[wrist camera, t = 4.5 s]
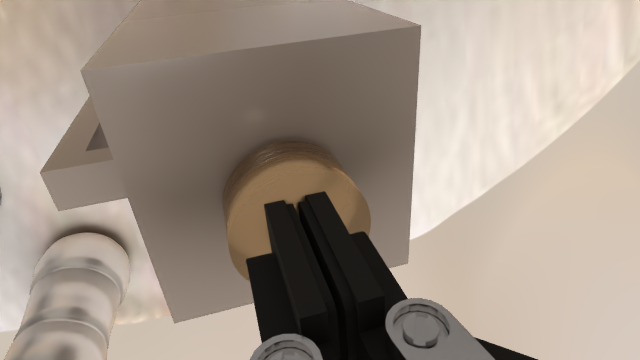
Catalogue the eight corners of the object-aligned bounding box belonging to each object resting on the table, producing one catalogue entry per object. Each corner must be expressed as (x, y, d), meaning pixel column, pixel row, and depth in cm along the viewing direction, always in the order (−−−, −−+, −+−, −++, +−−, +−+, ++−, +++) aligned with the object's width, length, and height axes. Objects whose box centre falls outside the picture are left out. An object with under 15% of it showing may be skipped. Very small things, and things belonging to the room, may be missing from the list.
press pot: (289, -20, 27) (421, 25, 12) (301, 109, 32) (407, 263, 17) (90, 0, 25) (-69, 90, 9) (135, 137, 30) (79, 347, 14)
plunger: (281, 0, 26) (430, 89, 10) (292, 106, 30) (415, 297, 14) (164, 13, 25) (122, 141, 9) (192, 123, 29) (197, 357, 12)
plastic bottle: (139, 226, 33) (91, 511, 17) (127, 289, 36) (75, 590, 19) (47, 215, 31) (-121, 538, 14) (41, 284, 33) (-106, 625, 17)
